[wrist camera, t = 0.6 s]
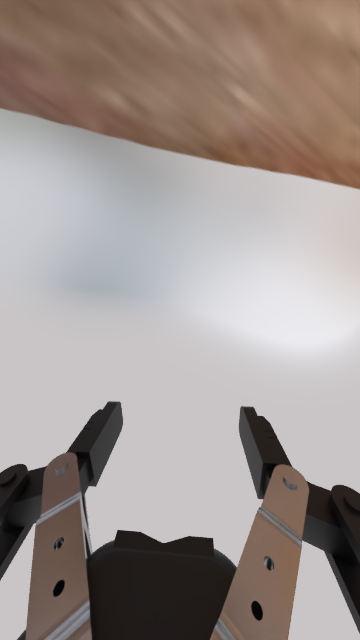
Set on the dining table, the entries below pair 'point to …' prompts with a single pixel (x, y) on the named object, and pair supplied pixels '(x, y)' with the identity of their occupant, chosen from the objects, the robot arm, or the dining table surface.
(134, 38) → the dining table surface
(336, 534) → the robot arm
